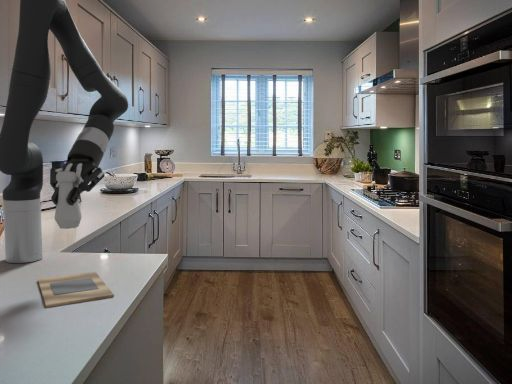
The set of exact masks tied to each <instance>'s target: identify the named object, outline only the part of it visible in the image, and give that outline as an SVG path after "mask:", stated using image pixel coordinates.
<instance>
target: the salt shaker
mask: <svg viewBox="0 0 512 384" xmlns="http://www.w3.org/2000/svg"><path fill="white" fill-rule="evenodd" d="M76 179H77V176H76V173H75V172H70V171H66V172H59V173H57V174H56V180H57V182H60V186H59V193H58V202H57V205H55V207H56V208H55V212H54V221H55V222H56V224H57V225H58V227H59V229H63V230H68V229H76V228H78V227H79V226H80V224H81V221H82V216H83V215H82V211H81V208H80V203H79V199H78V200H77V202H76V203H74V205H73V206H72V205H69V204H68V203H67V201H66V199H67V197H68V195H69V193H70V191H71V190H72V189H73V188H74V183H75V181H76Z"/></svg>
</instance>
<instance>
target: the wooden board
mask: <svg viewBox="0 0 512 384" xmlns="http://www.w3.org/2000/svg"><path fill="white" fill-rule="evenodd" d="M37 281H38V284H39V286H38V287H39V288H40V292H41V295H42V298H43V302H44V304H45V307H46V308H51V307H58V306H64V305H70V304H71V305H72V304H76V303H83V302H90V301H96V300H102V299H108V298H113V297H115V296H114V294H115V293H113V291H111V289H110V288H109V287H108V285H107V284H106V283H105V282H104V281H103V279H102V278H101V277H100V275H99V274H98V273H97V272H96V271H90V272H82V273H76V274H67V275H60V276H59V275H58V276H51V277H43V278H38V279H37Z"/></svg>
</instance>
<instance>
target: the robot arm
mask: <svg viewBox="0 0 512 384" xmlns="http://www.w3.org/2000/svg"><path fill="white" fill-rule="evenodd" d="M66 2H67V1H66V0H19V19H18V20H19V22H18V23H19V24H18V32H17V33H18V34H17V39H16V44H15V51H14V52H15V53H14V58H13V63H12V64H13V65H12V69H11V75H10V80H9V86H8V87H9V88H8V96H7V101H6V107H5V112H4V118H3V122H2V125H1V130H0V172H1V173H2V174H4V175H7V176H10V181H9V183H8V185H7V186H6V187H5V188H3V190H2V205H3V206H2V208H3V209H2V210H3V229H4V251H5V252H4V253H5V262H6V263H9V264H25V263H33V262H37V261H39V260H41V259H43V233H42V231H43V230H42V208H41V205H42V203H41V192H42V191H43V185H44V158H43V154H42V151H41V149H40V147H39V146H37V144H35V143H33V142H31V141H30V133H31V128H32V126H33V123H34V120H35V119H36V118H37V116H38V114H39V112H40V111H41V109H42V108H43V107H44V105H45V103H46V100H47V97H48V94H49V89H50V83H51V81H50V80H51V74H52V73H51V72H52V69H51V61H50V60H51V59H50V53H49V44H48V43H49V38H48V37H49V32H51V33H52V34H53V36H54V37H55V38H56V40H57V41H58V43H59V46H60V47H61V49H62V51H63V53H64V57H65V59H66V62H67V64H68V66H69V67H70V70H71V71H72V73H73V75H74V76H75V78H76V79H77V80H78V82H79V84H80V85H81V87H82V89H84V91H86V92H87V93H92V92H96V91H97V93H99V94H100V97H99V98H98V99H97V100H96V101H95V102H94V103H93V104H92V105H91V108H90V109H89V112H88V117H87V121H86V123H85V124H84V126H83V129H82V130H81V131H80V133H79V134H78V135H77V137H76V138H75V141H74V142H73V145H72V146H71V149H70V150H69V152H68V154H67V157H66V158H67V159H66V162H65V163H64V164H63V165H62V166H61V167H60V168H56V167H51V168H50V170H49V175H50V176H49V185H50V186H51V187H52V189H53V193H52V195H51V197H50V198H51V202H52V203H53V205H54V206H56V205H57V202H58V193H59V186H60V182H57V180H56V174H57V173H59V172H66V171H70V172H75V173H76V176H77V179H76V181H75V182H74V188H73V189H72V190H71V191H70V193H69V195H68V197H67V199H66V201H67V203H68V204H69V205H72V206H73V205H74V203H76V202H77V200H78V201H79V197H80V195H81V194H83V192H87V193H88V192H91V191H92V190H93V189H94V188H95V187H96V185H98V183H99V182H101V181H102V180H103V179H104V177H105V175H106V174H105V173H104V171H103V170H102V168H101V167H100V164H101V162H102V160H103V158H104V156H105V153H106V151H107V149H108V144H109V142H110V140H111V138H112V136H113V134H114V131H115V125H114V122H115V121H116V120H117V119H118V118H120V117H121V116H122V115H123V114H125V113H126V112H127V111H128V109H129V101H128V98H127V96H126V94H125V92H123V91H122V89H120V88H119V87H118V85H116V84H115V83H114V82H113V81H112V80H111V79H110V78H109V77H108V76H107V75H106V74H105V72H104V70H103V69H102V66H100V64H99V62H98V61H97V59H96V57H95V55H94V54H93V53H92V51H91V50H90V49H89V47H88V45H87V43H86V42H85V40H84V38H83V37H82V35H81V33H80V31H79V29H78V28H77V25H76V23H75V21H74V19H73V17H72V14H71V11H70V9H69V7H68V4H67V3H66Z"/></svg>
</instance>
